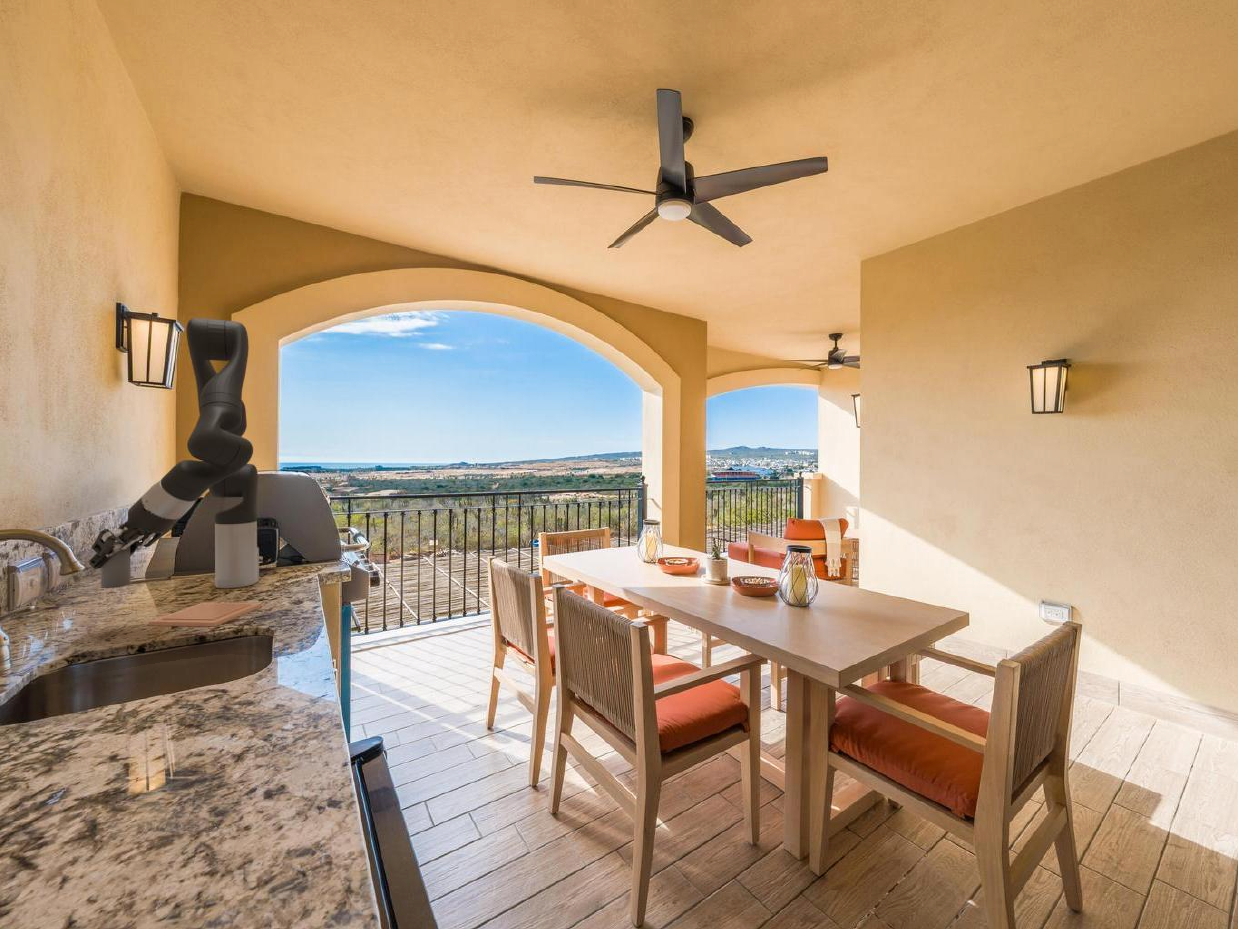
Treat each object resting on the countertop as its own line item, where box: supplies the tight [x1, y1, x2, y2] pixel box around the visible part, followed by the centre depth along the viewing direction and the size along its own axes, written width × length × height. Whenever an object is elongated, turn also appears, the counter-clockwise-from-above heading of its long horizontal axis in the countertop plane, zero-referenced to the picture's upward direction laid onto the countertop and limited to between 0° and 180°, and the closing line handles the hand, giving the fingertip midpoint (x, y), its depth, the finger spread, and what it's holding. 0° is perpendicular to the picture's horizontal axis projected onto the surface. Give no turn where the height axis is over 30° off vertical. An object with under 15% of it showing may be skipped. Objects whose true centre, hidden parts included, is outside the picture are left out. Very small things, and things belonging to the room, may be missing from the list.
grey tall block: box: [99, 538, 132, 589], centre depth 105 cm, size 4×4×11 cm
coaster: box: [147, 601, 263, 627], centre depth 115 cm, size 14×14×1 cm
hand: (106, 562), depth 105 cm, fingers closed on grey tall block, 4 cm apart
